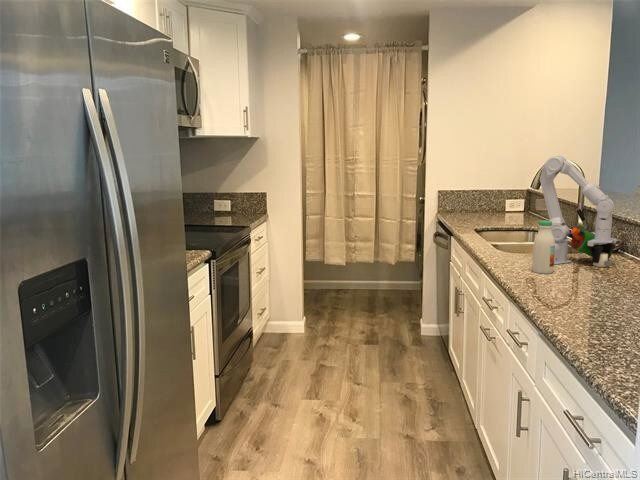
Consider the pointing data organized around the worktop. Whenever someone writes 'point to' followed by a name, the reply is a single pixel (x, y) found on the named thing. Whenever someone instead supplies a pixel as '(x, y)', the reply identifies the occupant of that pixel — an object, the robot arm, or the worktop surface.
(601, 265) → the cream capsule with tab
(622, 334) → the worktop surface
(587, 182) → the robot arm
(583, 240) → the green vase with flowers
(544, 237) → the milk bottle
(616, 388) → the worktop surface
